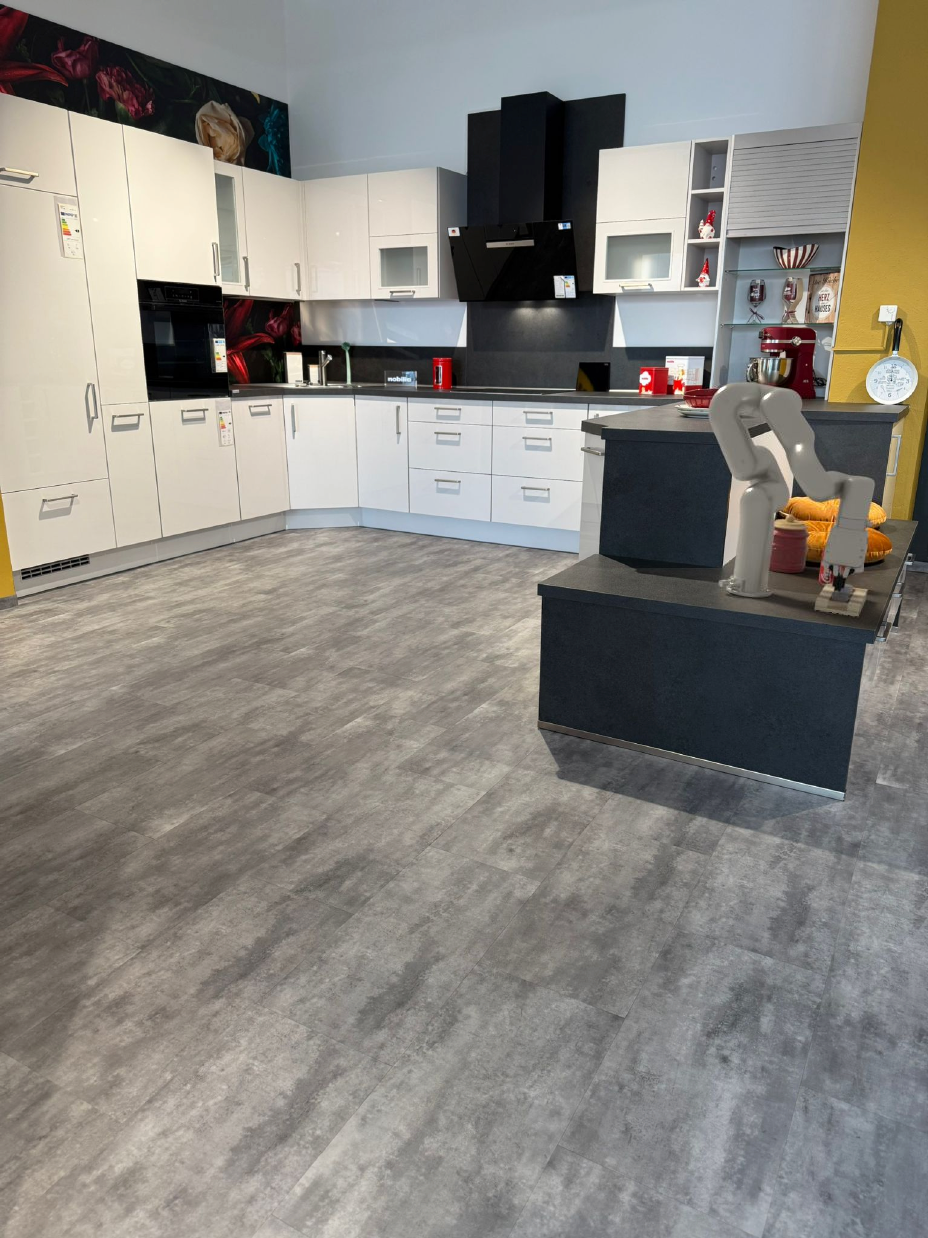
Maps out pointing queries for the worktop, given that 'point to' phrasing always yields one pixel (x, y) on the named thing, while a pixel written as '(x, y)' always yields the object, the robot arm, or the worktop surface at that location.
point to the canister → (789, 545)
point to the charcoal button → (840, 597)
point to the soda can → (828, 574)
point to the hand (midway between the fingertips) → (837, 589)
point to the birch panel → (849, 608)
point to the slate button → (845, 590)
